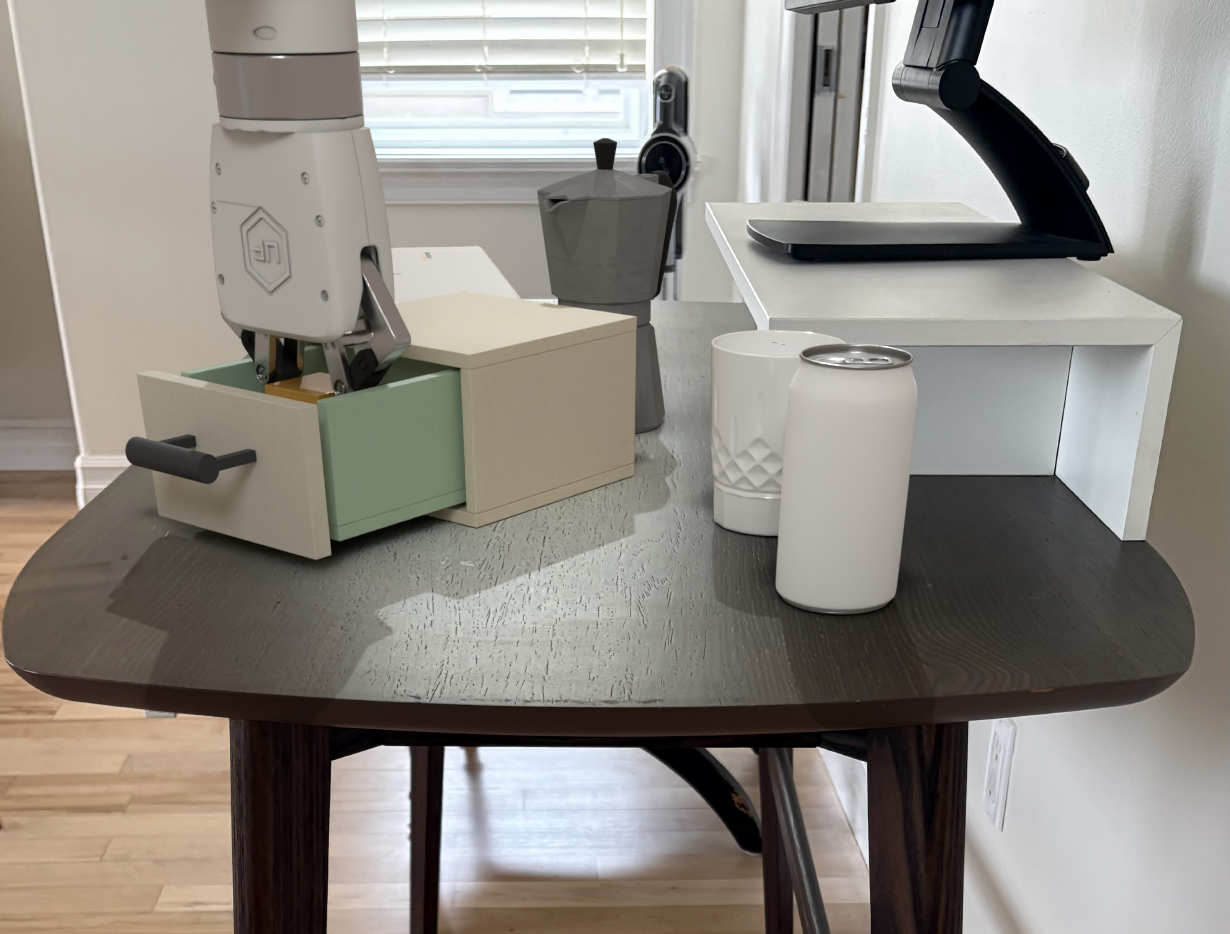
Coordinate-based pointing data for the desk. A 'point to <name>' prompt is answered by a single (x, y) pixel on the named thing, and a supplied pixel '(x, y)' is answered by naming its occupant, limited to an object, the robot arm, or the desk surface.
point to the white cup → (752, 423)
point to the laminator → (446, 273)
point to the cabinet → (531, 397)
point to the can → (845, 478)
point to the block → (303, 389)
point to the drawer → (301, 452)
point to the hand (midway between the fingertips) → (325, 457)
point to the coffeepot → (613, 255)
